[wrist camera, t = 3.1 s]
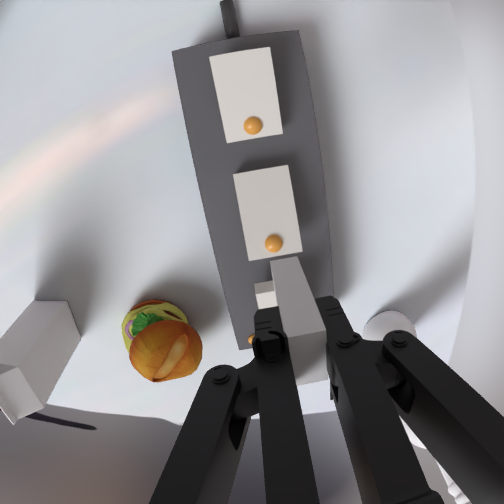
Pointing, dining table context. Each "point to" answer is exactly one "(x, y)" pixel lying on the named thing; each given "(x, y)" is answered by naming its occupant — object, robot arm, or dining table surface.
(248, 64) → the rocker
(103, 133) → the dining table surface
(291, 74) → the power strip
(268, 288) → the rocker
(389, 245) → the dining table surface
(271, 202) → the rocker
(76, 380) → the dining table surface
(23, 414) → the milk carton
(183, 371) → the cheeseburger
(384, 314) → the bottle
